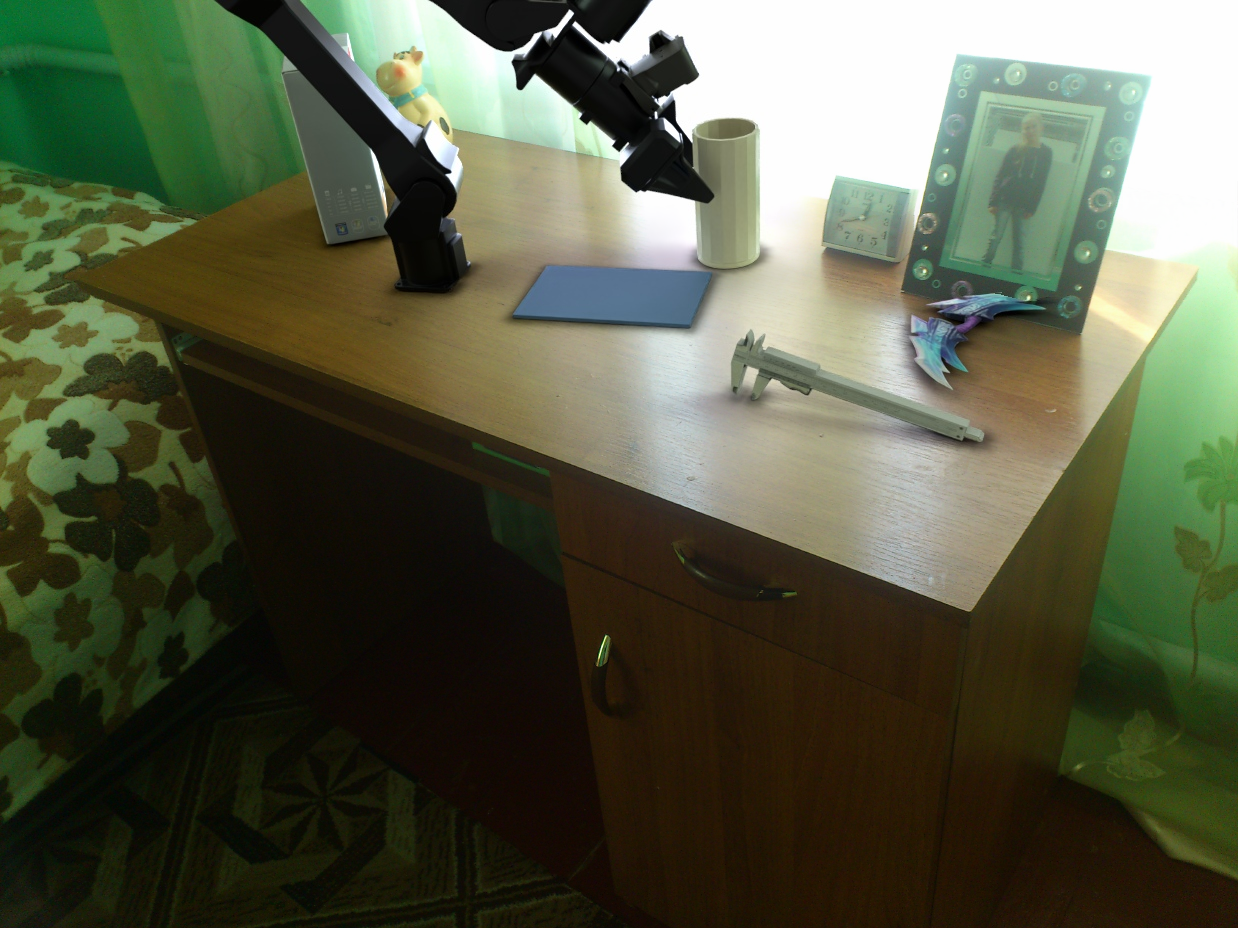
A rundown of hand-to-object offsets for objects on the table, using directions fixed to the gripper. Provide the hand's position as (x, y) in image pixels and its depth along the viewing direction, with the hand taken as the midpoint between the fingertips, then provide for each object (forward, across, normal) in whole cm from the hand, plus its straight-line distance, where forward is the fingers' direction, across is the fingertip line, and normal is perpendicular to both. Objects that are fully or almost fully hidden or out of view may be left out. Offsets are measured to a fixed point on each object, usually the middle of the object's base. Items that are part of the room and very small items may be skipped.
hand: (707, 182), depth 100 cm
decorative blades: (+21, -20, -10) cm, 30 cm away
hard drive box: (-24, +19, +36) cm, 47 cm away
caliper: (+12, -32, 0) cm, 34 cm away
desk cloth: (-2, -8, +13) cm, 15 cm away
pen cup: (+7, -1, +4) cm, 8 cm away
